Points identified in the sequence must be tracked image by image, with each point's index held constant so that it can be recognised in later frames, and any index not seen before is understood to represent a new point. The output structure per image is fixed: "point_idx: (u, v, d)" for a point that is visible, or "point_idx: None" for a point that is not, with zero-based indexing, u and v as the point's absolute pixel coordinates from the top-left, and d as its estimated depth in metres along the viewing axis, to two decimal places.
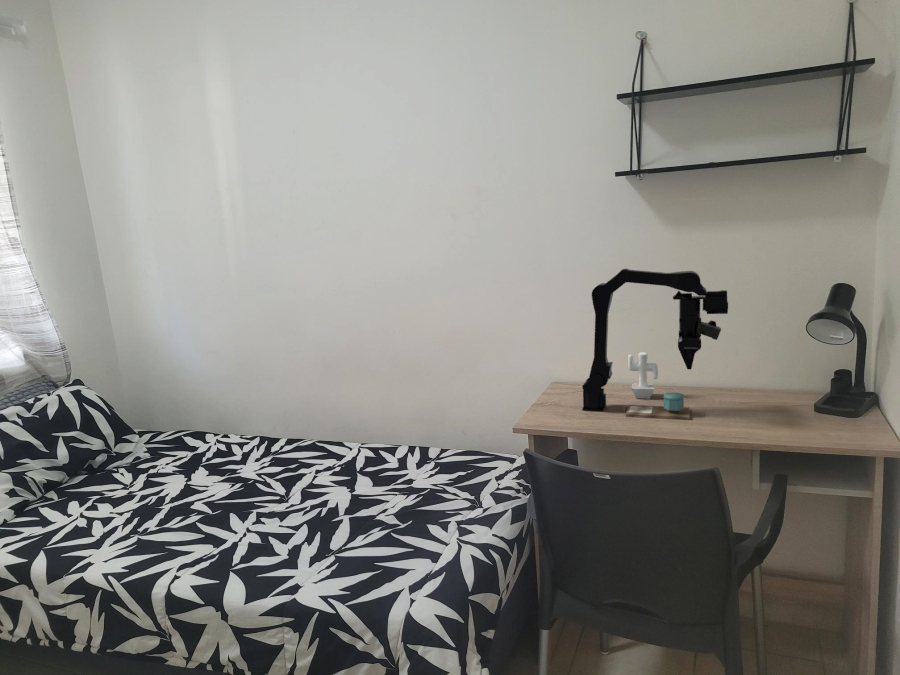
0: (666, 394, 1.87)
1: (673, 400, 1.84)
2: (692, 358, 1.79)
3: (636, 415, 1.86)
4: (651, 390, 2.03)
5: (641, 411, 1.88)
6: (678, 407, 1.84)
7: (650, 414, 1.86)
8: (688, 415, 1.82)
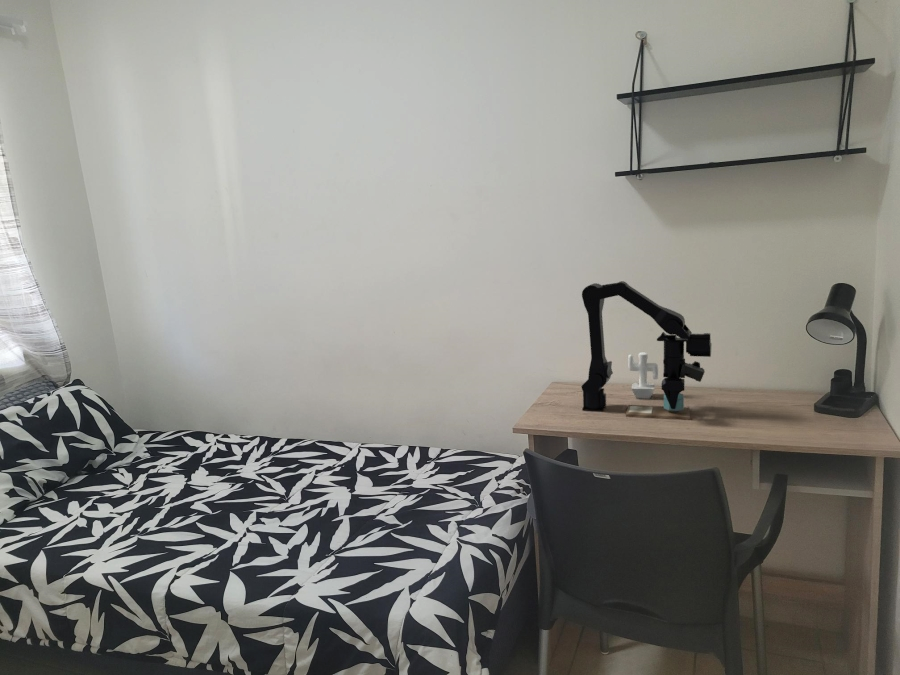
0: None
1: None
2: (676, 398, 1.82)
3: (636, 415, 1.86)
4: (651, 390, 2.03)
5: (641, 411, 1.88)
6: (678, 407, 1.84)
7: (650, 414, 1.86)
8: (688, 415, 1.82)
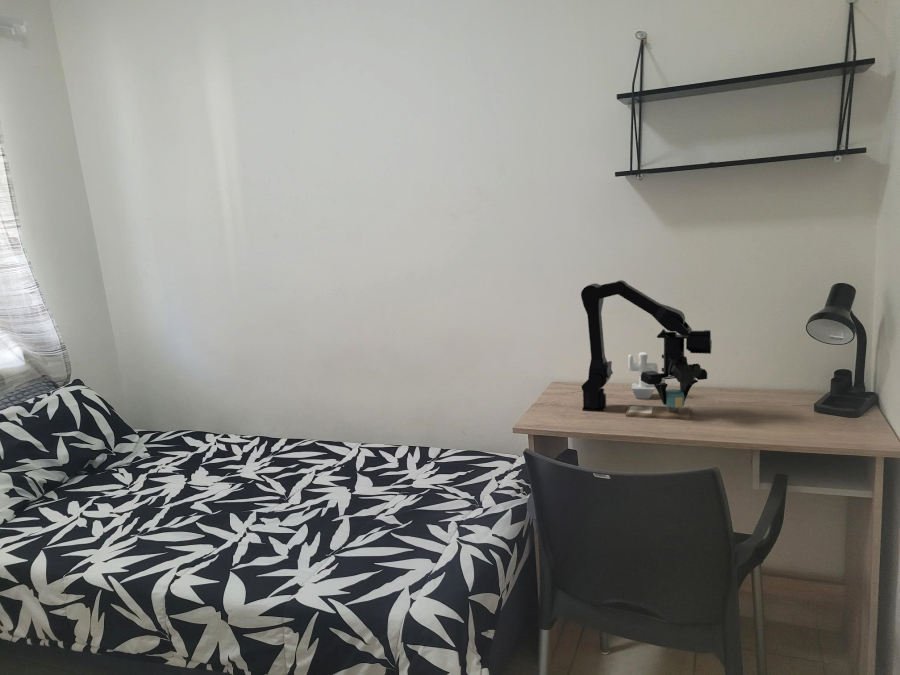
0: (670, 390, 1.88)
1: None
2: (662, 393, 1.84)
3: (636, 415, 1.86)
4: (651, 390, 2.03)
5: (641, 411, 1.88)
6: (668, 404, 1.85)
7: (650, 414, 1.86)
8: (688, 415, 1.82)
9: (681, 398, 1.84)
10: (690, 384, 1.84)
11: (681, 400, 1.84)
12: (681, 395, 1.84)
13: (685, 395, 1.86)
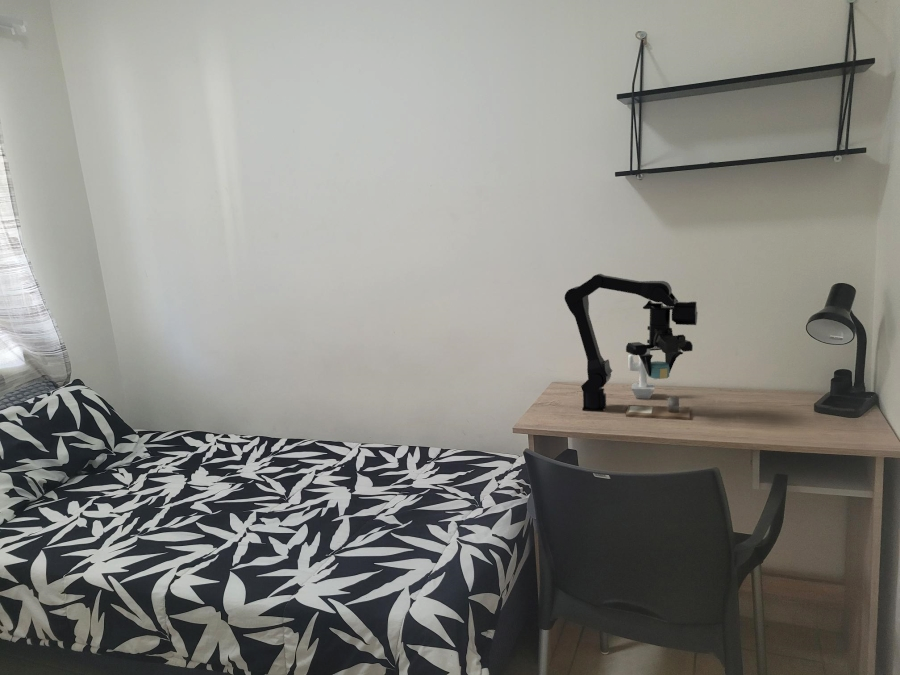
0: (656, 362, 1.88)
1: None
2: (647, 365, 1.84)
3: (636, 415, 1.86)
4: (651, 390, 2.03)
5: (641, 411, 1.88)
6: (653, 375, 1.85)
7: (650, 414, 1.86)
8: (688, 415, 1.82)
9: (666, 369, 1.84)
10: (675, 356, 1.84)
11: (666, 371, 1.84)
12: (666, 366, 1.84)
13: (670, 367, 1.86)
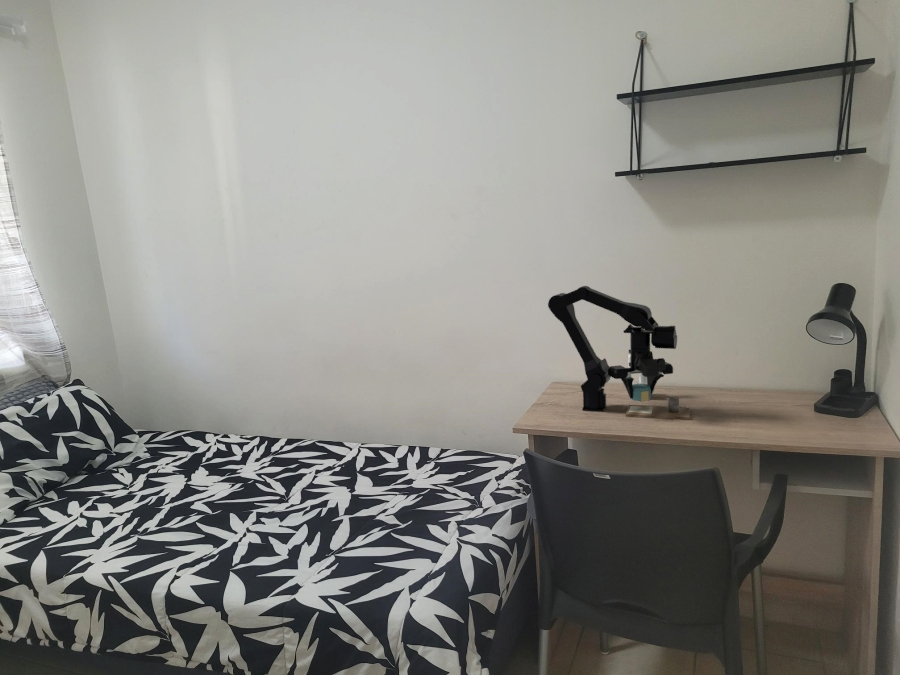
0: (637, 384, 1.91)
1: None
2: (628, 388, 1.88)
3: (636, 415, 1.86)
4: None
5: (641, 411, 1.88)
6: (634, 398, 1.88)
7: (650, 414, 1.86)
8: (688, 415, 1.82)
9: (647, 392, 1.87)
10: (656, 378, 1.87)
11: (647, 394, 1.87)
12: (647, 389, 1.87)
13: (651, 389, 1.89)
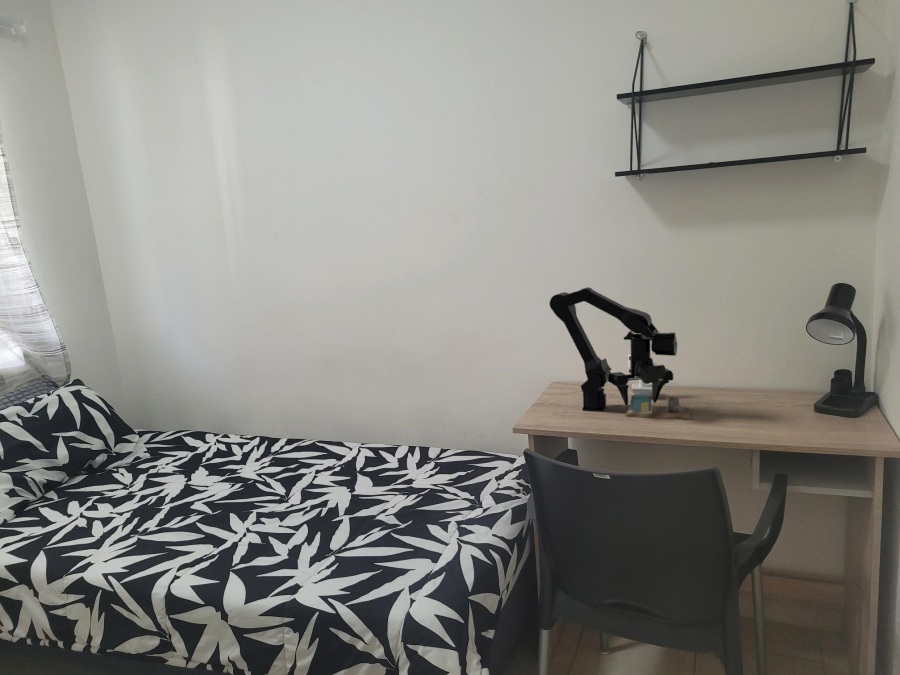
0: (638, 395, 1.92)
1: (632, 400, 1.89)
2: (623, 395, 1.88)
3: (636, 415, 1.86)
4: (651, 390, 2.03)
5: None
6: (635, 408, 1.88)
7: (650, 414, 1.86)
8: (688, 415, 1.82)
9: (647, 403, 1.87)
10: (661, 384, 1.88)
11: (647, 405, 1.87)
12: (647, 400, 1.87)
13: (657, 395, 1.89)
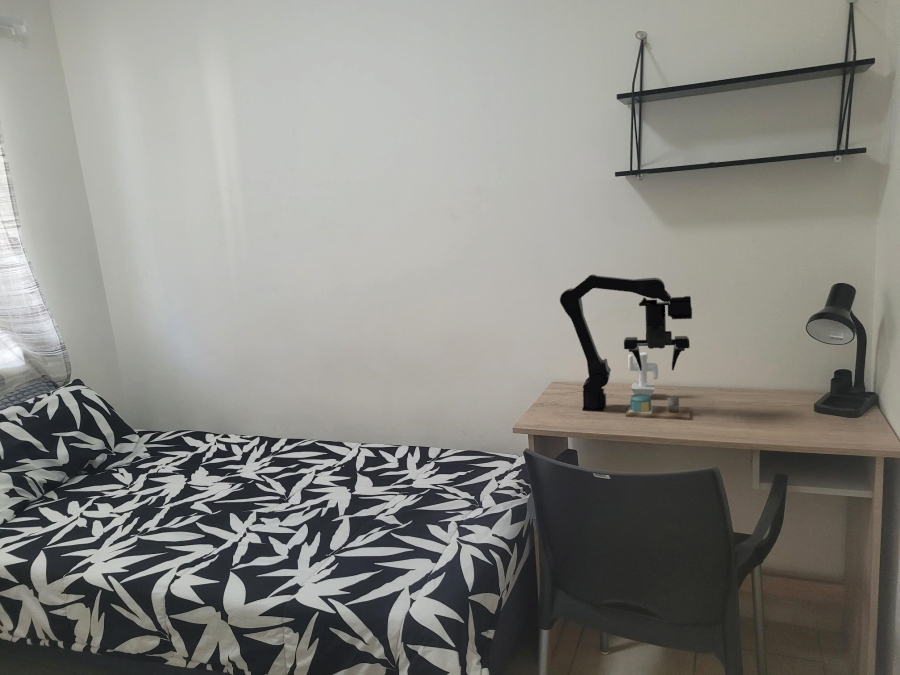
0: (638, 395, 1.92)
1: (632, 400, 1.89)
2: (636, 359, 1.90)
3: (636, 415, 1.86)
4: (651, 390, 2.03)
5: None
6: (635, 408, 1.88)
7: (650, 414, 1.86)
8: (688, 415, 1.82)
9: (647, 403, 1.87)
10: (676, 352, 1.84)
11: (647, 405, 1.87)
12: (647, 400, 1.87)
13: (673, 363, 1.86)
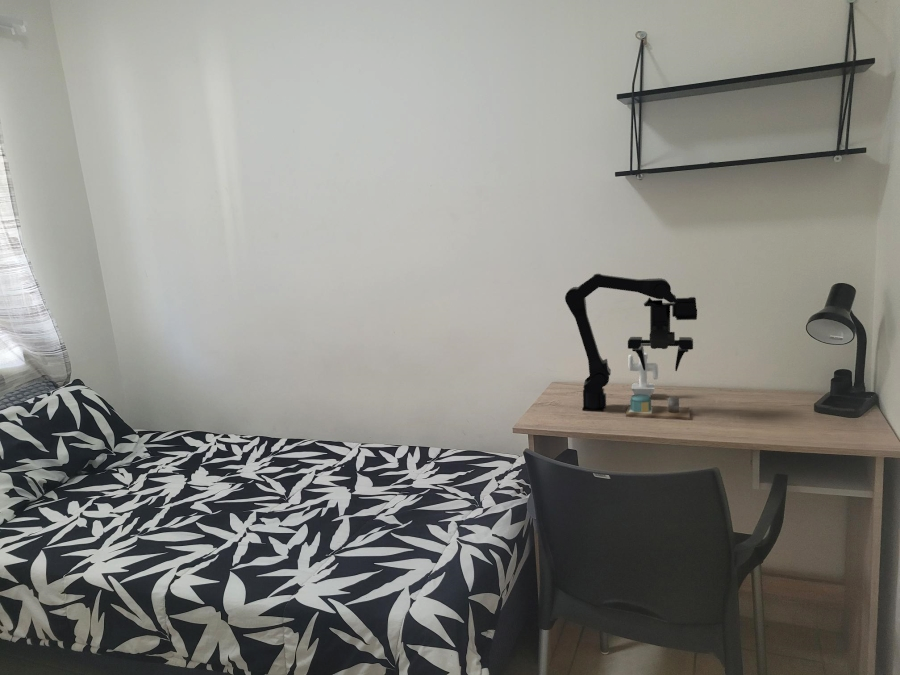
0: (638, 395, 1.92)
1: (632, 400, 1.89)
2: None
3: (636, 415, 1.86)
4: (651, 390, 2.03)
5: None
6: (635, 408, 1.88)
7: (650, 414, 1.86)
8: (688, 415, 1.82)
9: (647, 403, 1.87)
10: (680, 353, 1.85)
11: (647, 405, 1.87)
12: (647, 400, 1.87)
13: (677, 364, 1.87)
